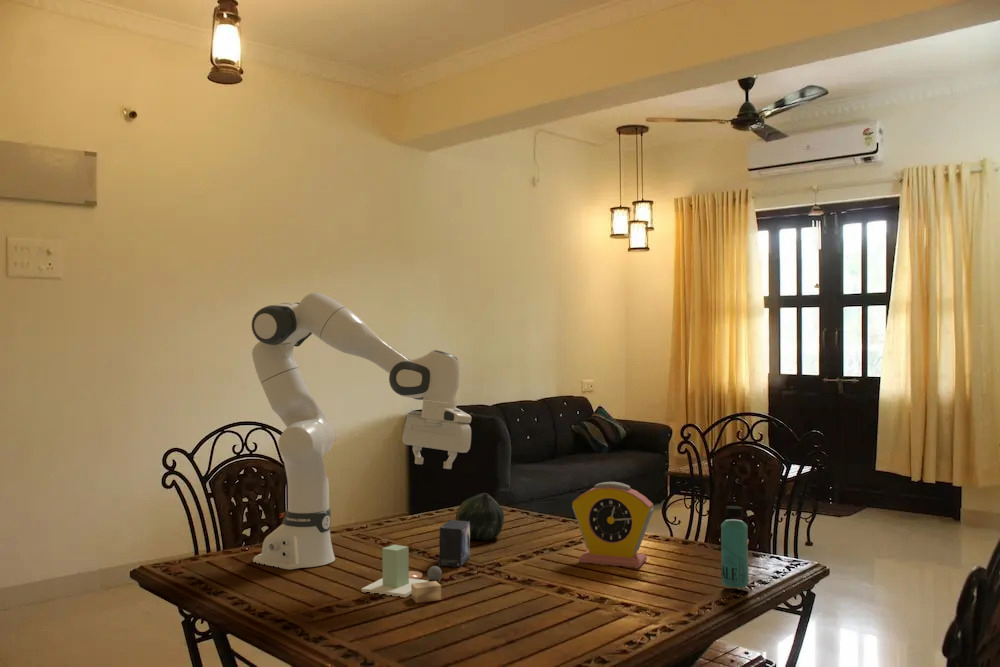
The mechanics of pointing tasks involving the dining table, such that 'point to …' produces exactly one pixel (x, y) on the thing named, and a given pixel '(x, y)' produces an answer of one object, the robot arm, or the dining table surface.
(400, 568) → the sage block
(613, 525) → the retro mantel clock
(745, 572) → the beverage bottle
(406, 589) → the beige mat
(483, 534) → the squash
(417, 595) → the oak block
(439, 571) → the rubber ball
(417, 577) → the peach flat disc
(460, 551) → the small box
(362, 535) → the dining table surface
